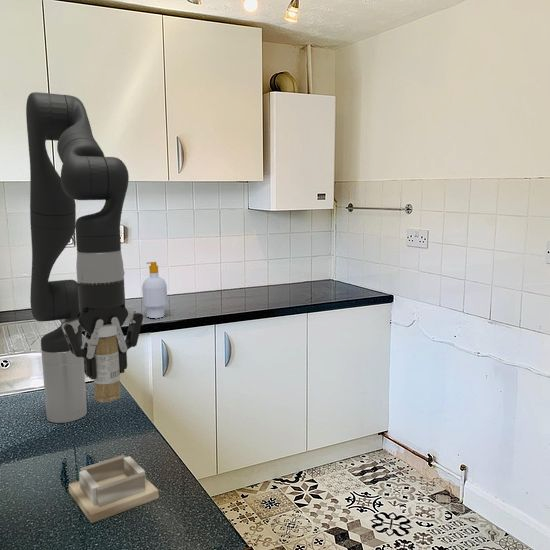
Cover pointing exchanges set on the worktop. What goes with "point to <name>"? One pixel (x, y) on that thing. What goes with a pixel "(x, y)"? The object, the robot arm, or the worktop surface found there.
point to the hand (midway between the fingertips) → (106, 374)
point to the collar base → (112, 488)
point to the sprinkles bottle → (107, 365)
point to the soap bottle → (154, 293)
